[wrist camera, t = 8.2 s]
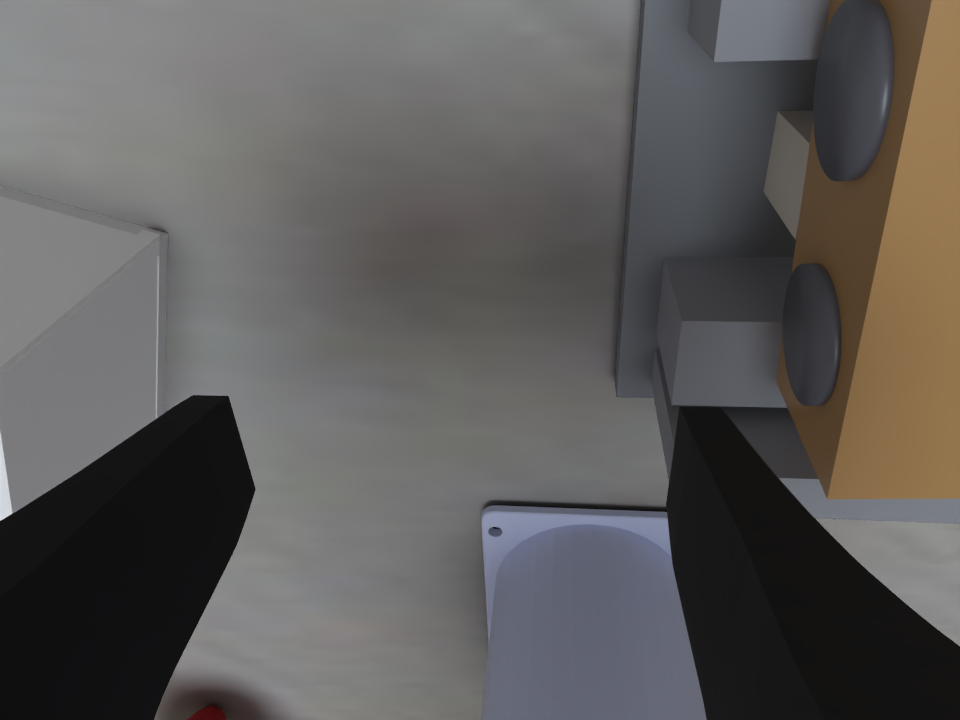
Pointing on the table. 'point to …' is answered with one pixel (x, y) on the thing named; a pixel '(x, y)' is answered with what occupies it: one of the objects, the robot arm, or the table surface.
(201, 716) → the strawberry
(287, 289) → the table surface
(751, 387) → the display stand
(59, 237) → the butter dish
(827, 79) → the orange-brown rectangular block
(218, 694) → the table surface
